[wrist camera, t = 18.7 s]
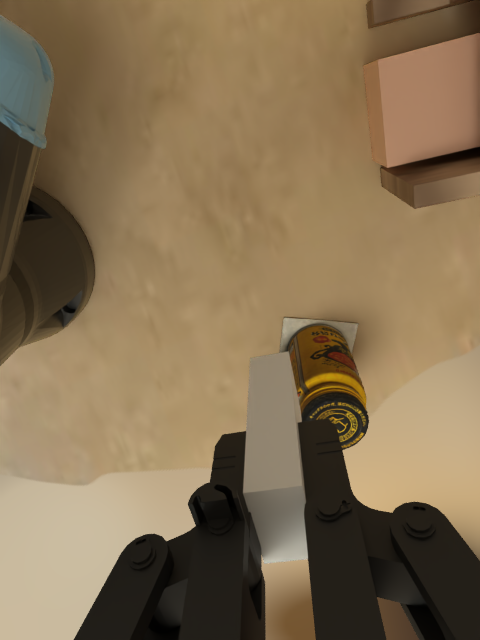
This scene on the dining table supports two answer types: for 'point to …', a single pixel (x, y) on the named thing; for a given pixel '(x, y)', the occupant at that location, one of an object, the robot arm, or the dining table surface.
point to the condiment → (327, 375)
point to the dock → (437, 172)
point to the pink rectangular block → (424, 102)
